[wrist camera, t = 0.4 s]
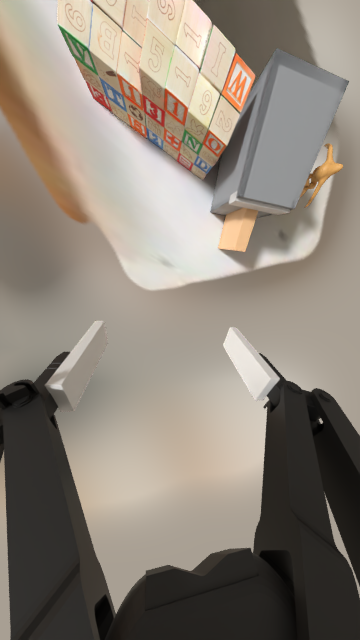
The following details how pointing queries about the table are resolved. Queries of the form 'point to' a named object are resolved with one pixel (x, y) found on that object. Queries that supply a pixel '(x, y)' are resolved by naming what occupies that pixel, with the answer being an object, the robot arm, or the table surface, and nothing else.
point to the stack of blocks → (160, 72)
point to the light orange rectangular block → (237, 229)
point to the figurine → (322, 173)
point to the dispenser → (277, 137)
